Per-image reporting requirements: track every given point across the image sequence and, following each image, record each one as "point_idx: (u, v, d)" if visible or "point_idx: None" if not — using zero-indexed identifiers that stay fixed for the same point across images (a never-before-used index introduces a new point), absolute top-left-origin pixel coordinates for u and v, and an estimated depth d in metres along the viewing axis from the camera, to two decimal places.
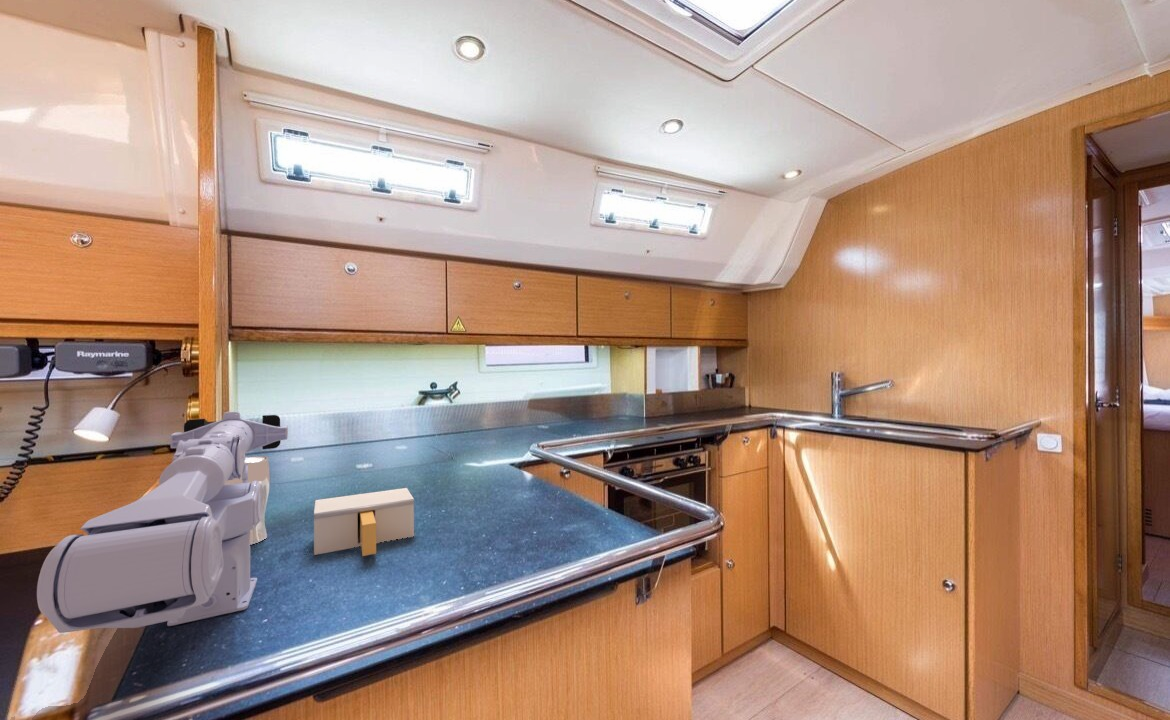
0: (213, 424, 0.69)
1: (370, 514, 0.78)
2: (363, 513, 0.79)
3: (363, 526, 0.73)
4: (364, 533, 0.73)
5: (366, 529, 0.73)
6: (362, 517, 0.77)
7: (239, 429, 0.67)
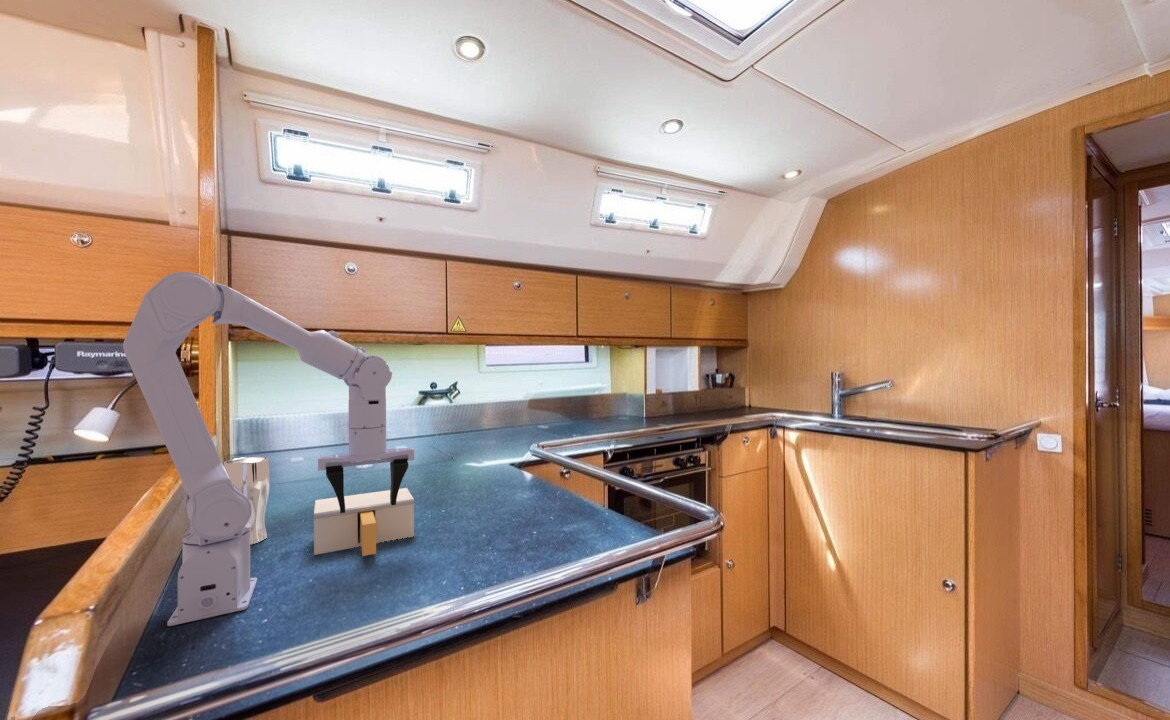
0: None
1: (370, 514, 0.78)
2: (363, 513, 0.79)
3: (363, 526, 0.73)
4: (364, 533, 0.73)
5: (366, 529, 0.73)
6: (362, 517, 0.77)
7: (385, 420, 0.76)
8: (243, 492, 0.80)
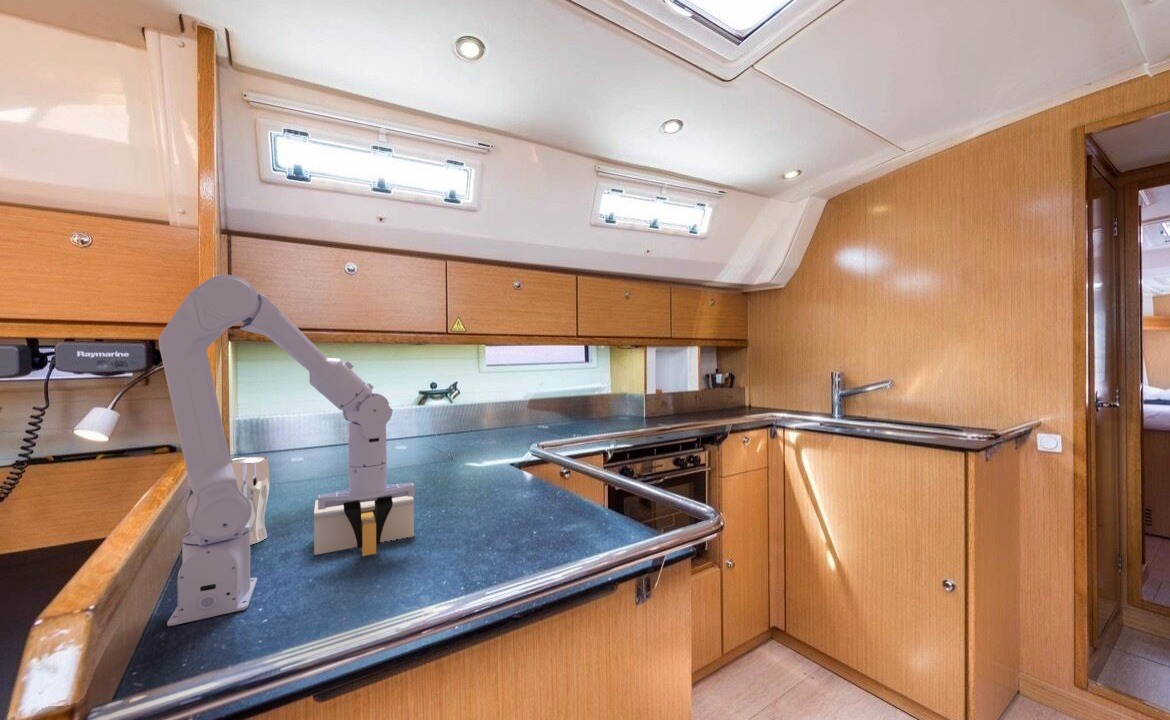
0: None
1: (370, 514, 0.78)
2: (363, 513, 0.79)
3: (363, 526, 0.73)
4: (364, 533, 0.73)
5: (366, 529, 0.73)
6: (362, 517, 0.77)
7: (385, 457, 0.76)
8: (243, 492, 0.80)
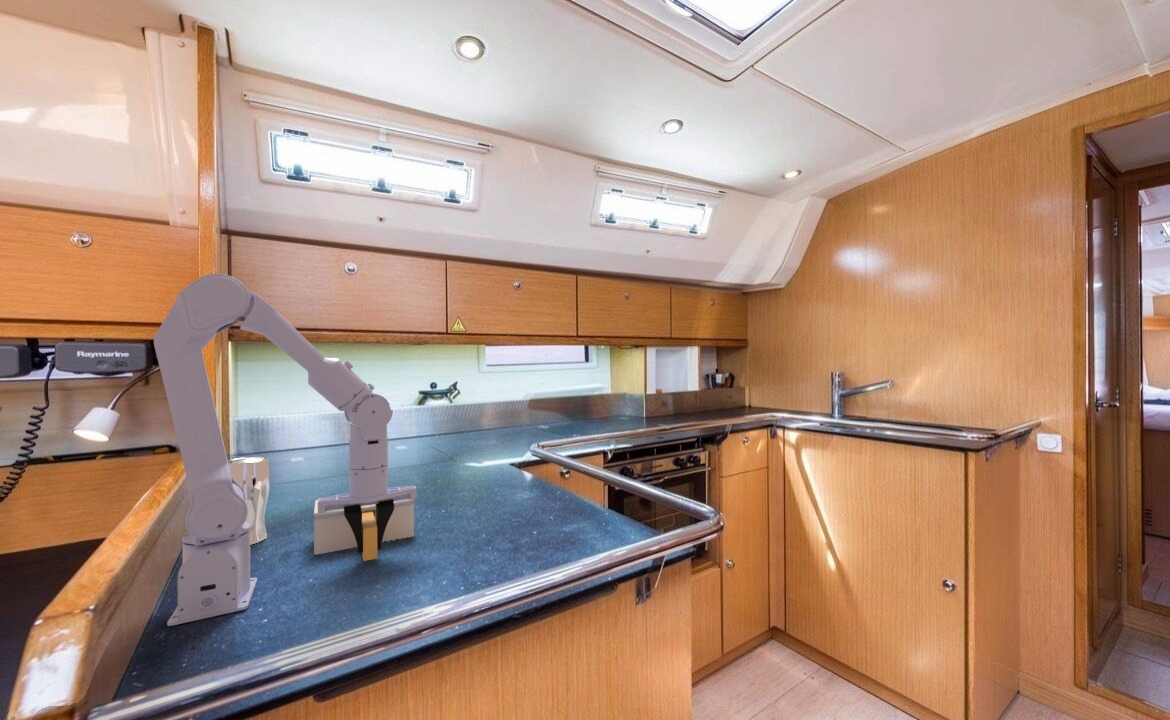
0: None
1: (371, 518, 0.77)
2: (364, 517, 0.77)
3: (364, 530, 0.71)
4: (365, 537, 0.71)
5: (367, 533, 0.71)
6: (363, 521, 0.75)
7: (386, 460, 0.74)
8: None
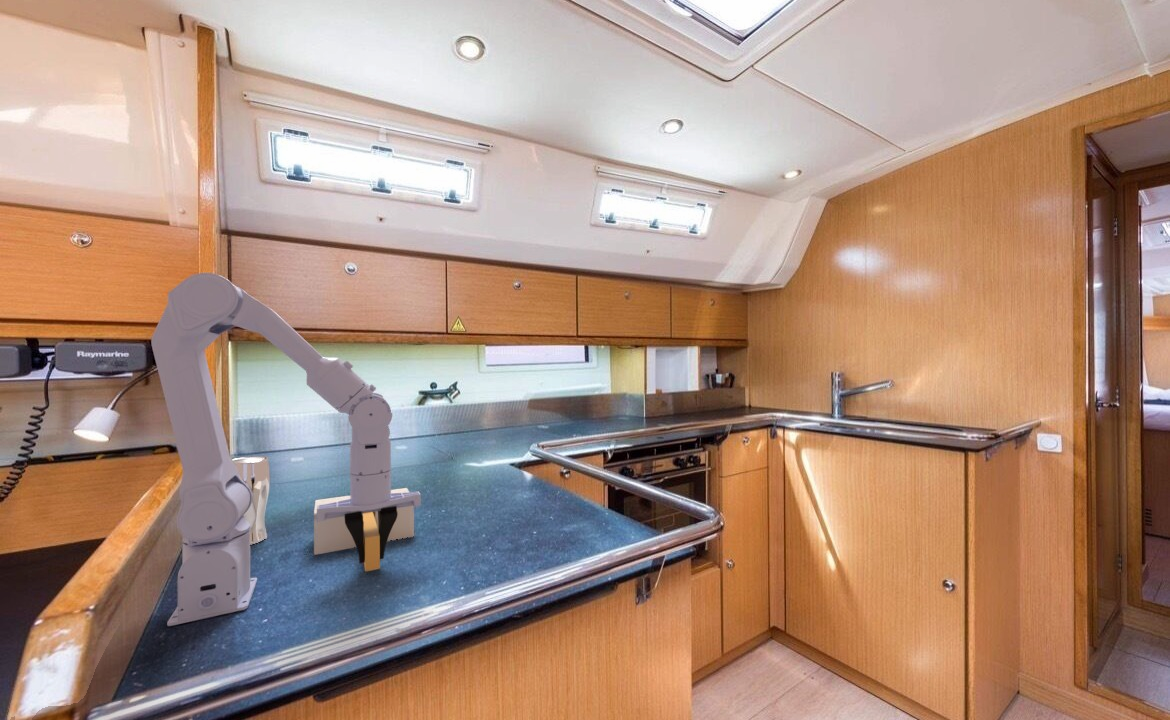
0: None
1: (373, 525, 0.73)
2: (365, 524, 0.73)
3: (366, 539, 0.68)
4: (367, 547, 0.68)
5: (369, 542, 0.68)
6: (364, 529, 0.71)
7: (386, 465, 0.70)
8: None
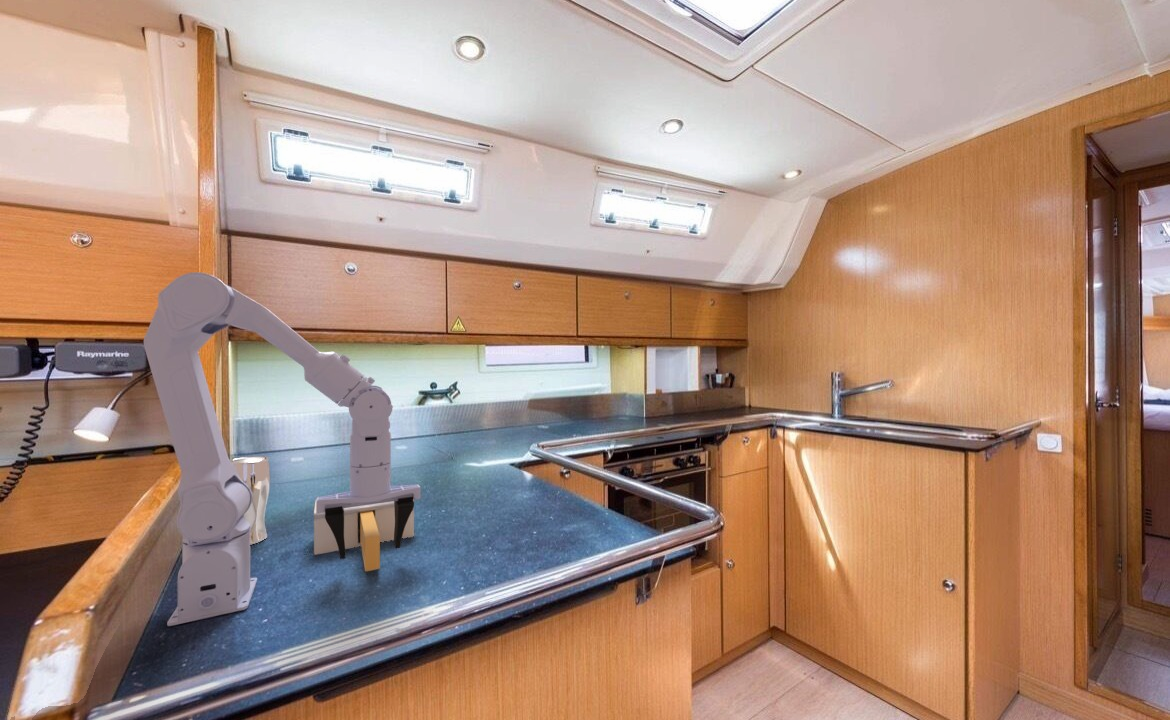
0: None
1: (373, 525, 0.73)
2: (365, 524, 0.73)
3: (366, 539, 0.68)
4: (367, 547, 0.68)
5: (369, 542, 0.68)
6: (364, 529, 0.71)
7: (386, 458, 0.70)
8: None
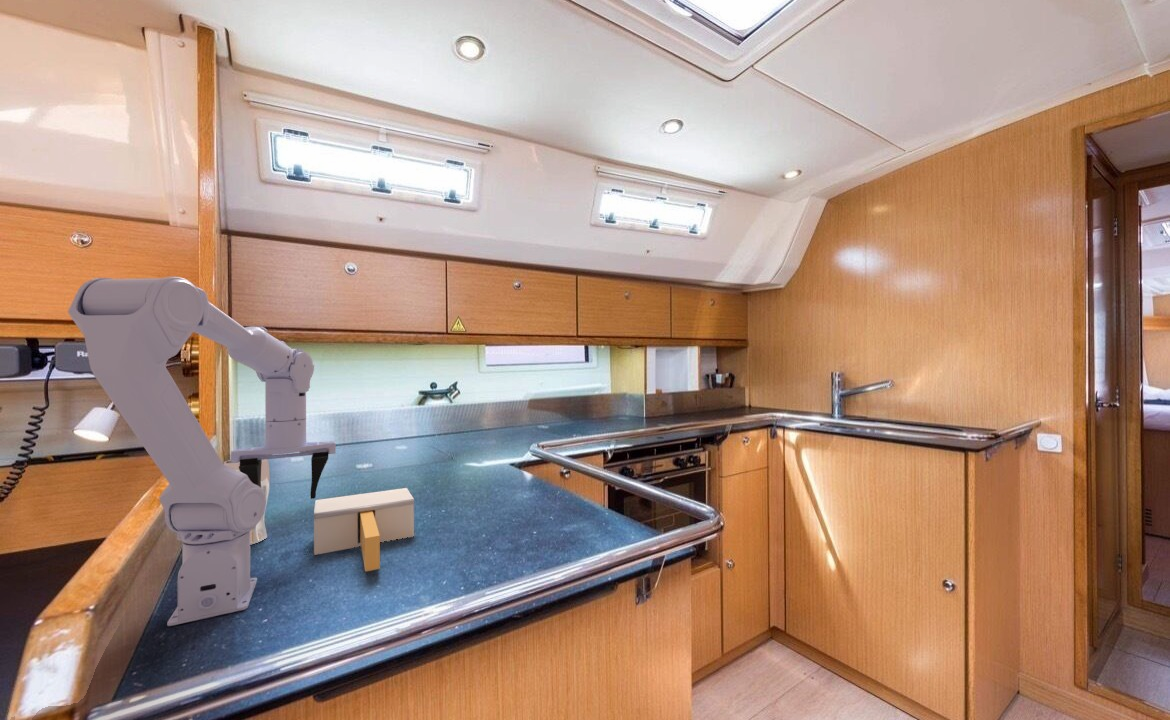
0: None
1: (373, 525, 0.73)
2: (365, 524, 0.73)
3: (366, 539, 0.68)
4: (367, 547, 0.68)
5: (369, 542, 0.68)
6: (364, 529, 0.71)
7: None
8: None
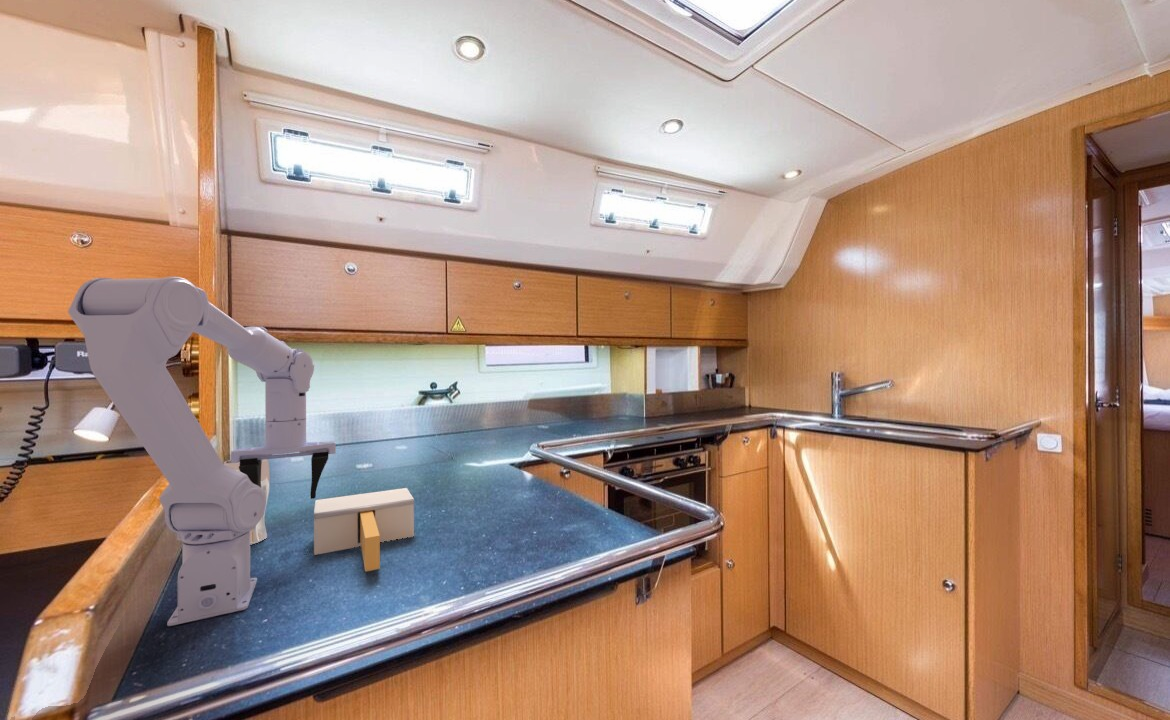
0: None
1: (373, 525, 0.73)
2: (365, 524, 0.73)
3: (366, 539, 0.68)
4: (367, 547, 0.68)
5: (369, 542, 0.68)
6: (364, 529, 0.71)
7: None
8: None
